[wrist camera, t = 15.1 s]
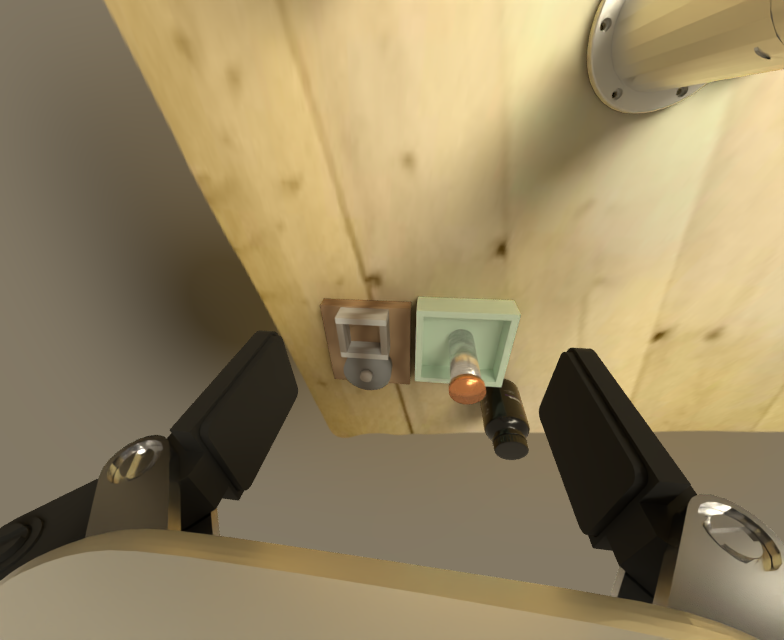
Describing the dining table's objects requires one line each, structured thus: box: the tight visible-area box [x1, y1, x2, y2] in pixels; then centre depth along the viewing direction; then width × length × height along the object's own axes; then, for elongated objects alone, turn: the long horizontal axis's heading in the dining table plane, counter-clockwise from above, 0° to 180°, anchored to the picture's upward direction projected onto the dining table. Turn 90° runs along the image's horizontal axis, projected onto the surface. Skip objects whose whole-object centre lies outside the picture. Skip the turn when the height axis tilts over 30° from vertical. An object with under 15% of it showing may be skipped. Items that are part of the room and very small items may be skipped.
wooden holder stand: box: [320, 299, 411, 390], centre depth 46 cm, size 14×16×6 cm
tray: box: [415, 297, 521, 387], centre depth 44 cm, size 14×14×4 cm
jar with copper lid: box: [448, 329, 486, 404], centre depth 40 cm, size 5×5×11 cm
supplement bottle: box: [480, 379, 530, 460], centre depth 46 cm, size 7×7×12 cm
